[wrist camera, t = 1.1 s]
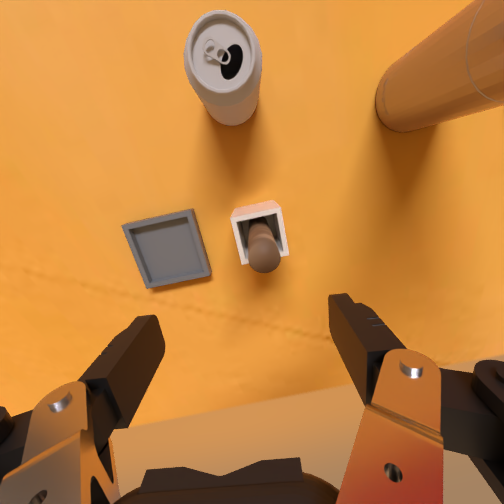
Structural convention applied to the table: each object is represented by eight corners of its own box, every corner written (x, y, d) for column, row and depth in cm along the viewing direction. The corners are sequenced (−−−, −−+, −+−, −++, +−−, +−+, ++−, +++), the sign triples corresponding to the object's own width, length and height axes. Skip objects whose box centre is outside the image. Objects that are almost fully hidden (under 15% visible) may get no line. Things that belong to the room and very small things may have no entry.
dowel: (265, 212, 36) (277, 239, 21) (269, 231, 37) (283, 269, 22) (246, 216, 36) (244, 246, 21) (250, 235, 37) (252, 275, 22)
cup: (273, 199, 36) (280, 207, 28) (280, 237, 38) (289, 254, 30) (234, 208, 37) (230, 218, 28) (243, 245, 38) (241, 264, 30)
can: (243, 137, 33) (240, 117, 22) (195, 110, 32) (165, 74, 21) (268, 83, 31) (278, 29, 20) (217, 52, 30) (198, -23, 19)
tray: (193, 208, 36) (190, 210, 35) (211, 271, 40) (210, 275, 38) (127, 223, 37) (121, 225, 35) (151, 283, 40) (146, 288, 39)
